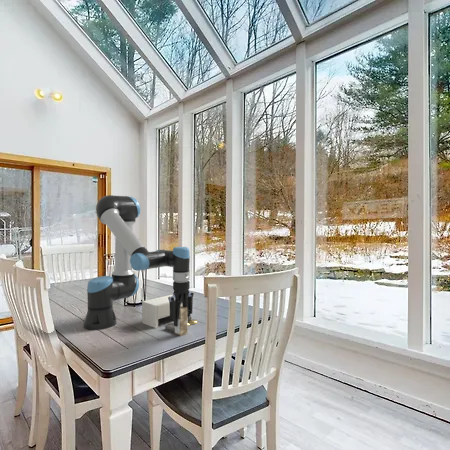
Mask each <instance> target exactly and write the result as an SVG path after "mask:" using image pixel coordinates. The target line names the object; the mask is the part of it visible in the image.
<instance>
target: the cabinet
mask: <svg viewBox="0 0 450 450" xmlns="http://www.w3.org/2000/svg"><path fill="white" fill-rule="evenodd" d="M171 296H173V294H168V295H164V296H160V297H156V298H152V299H148V300H142V302H141V303H142V304H141V308H142V310H141V311H142V314H141V315H142V320H141V321H142V324H144V325H147V326H149V327H151V328H154V329H157V328H159V320H160V319H164V318H168V317H170V304H169V299H168V297H171ZM180 306H183V305H182V303H181V305H180Z"/></svg>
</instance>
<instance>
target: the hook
mask: <svg viewBox="0 0 450 450" xmlns="http://www.w3.org/2000/svg"><path fill="white" fill-rule="evenodd" d="M178 319H180V334H178V333H175V326H174V320H173V321H170V322H168V323H164V324H165V325H164V327H165V330H167V331H168V332H169V331H170V332H172V333H174V334H175V335H177V336H180V337H182V336H184V335H188V331H187V307H183V306H180V312H179V318H178ZM189 320H192V316H191V315H190V317H189Z"/></svg>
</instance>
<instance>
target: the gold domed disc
mask: <svg viewBox="0 0 450 450" xmlns="http://www.w3.org/2000/svg"><path fill="white" fill-rule="evenodd" d="M189 323H190V325H196V324H199V323H198V320H197V319H191V320H189Z"/></svg>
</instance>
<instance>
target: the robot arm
mask: <svg viewBox="0 0 450 450" xmlns="http://www.w3.org/2000/svg"><path fill="white" fill-rule="evenodd" d="M95 213H96V216H97V218H98V220H99V221H100V222H101V224H103V225H106V226H107V228H108V229H109V230H110V232H111V233H112V235H114V240H115V241H114V271H112V272H111V276H110V275H103V276H96V277H94V278H91V279H90V280H88V282H87V287H86V292H87V312H86V315H85V318H84V320H83V328H85V329H86V330H89V331H90V330H91V331H93V330H94V331H99V330H104V329H106V330H107V329H109V328H112V327H114V326H115V325H117V317H116V313H115V311H114V308H113V307H114V306H113V305H114V304H113V302H114V301H117V300H119V301H120V300H123V299H127V298H130V297H133V296H134V295H136V294H137V292H138V290H139V288H140V280H139V277H138V276H137V275H136V274H135V271H137V272H139V271H146V270H151V269H158V268H163V267H170V268H172V289H173V293H172V295H173V296H171V297H168V299H169V304H170V316H169V318H170V319H173V321H174V326H175V332H174V334H175V333H178V334H180V319H178V318H179V312H180V305H181V303H182V305H183V307H187V332H188V331H189V327H188V322H189V317H190V316H191V315H192V314H193V302H194V295H195V293H194V292H192V291H190V285H191V284H190V283H191V282H190V262H191V260H190V259H191V255H190V248H189V247H188V246H174V247H173V249H172V250H168V249H157V250H155V251H154V250H153V251H149V250H148V249H147V248H146V247H145V246H144V244H143V243H142V241H140V239H139V237H137V235H136V234H135V233H134V232H133V225H134V224H136V219H137V218H138V217H139V216H140V215H141V206H140V203H139V201H138V199H137V198H135V197H133V196H129V195H128V196H127V195H110V194H108V195H105V196H102V197H101V198H100V199H99V200H98V201H97V203H96V206H95Z"/></svg>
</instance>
